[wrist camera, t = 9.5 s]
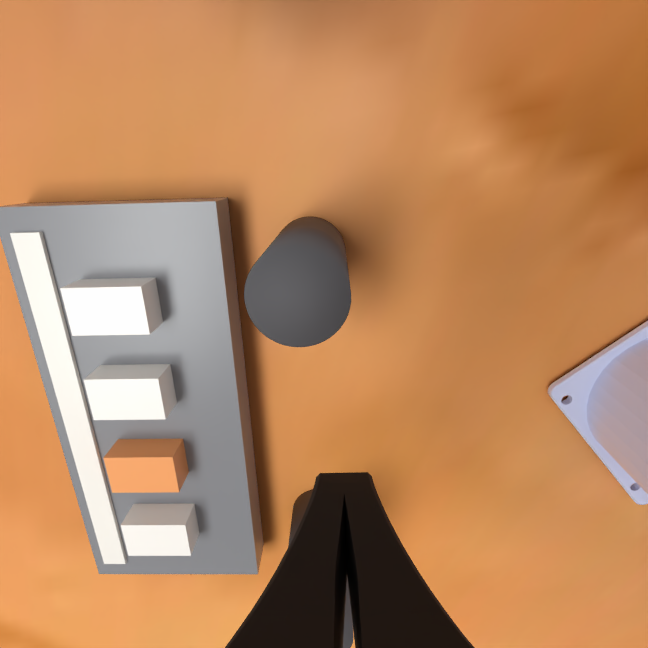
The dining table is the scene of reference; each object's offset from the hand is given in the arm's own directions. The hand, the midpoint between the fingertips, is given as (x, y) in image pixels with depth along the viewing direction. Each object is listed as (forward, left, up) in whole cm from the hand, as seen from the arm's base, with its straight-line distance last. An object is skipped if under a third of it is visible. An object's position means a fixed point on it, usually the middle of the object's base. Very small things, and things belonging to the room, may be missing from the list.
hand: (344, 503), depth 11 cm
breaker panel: (+4, +9, -10) cm, 14 cm away
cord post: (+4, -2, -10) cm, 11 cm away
